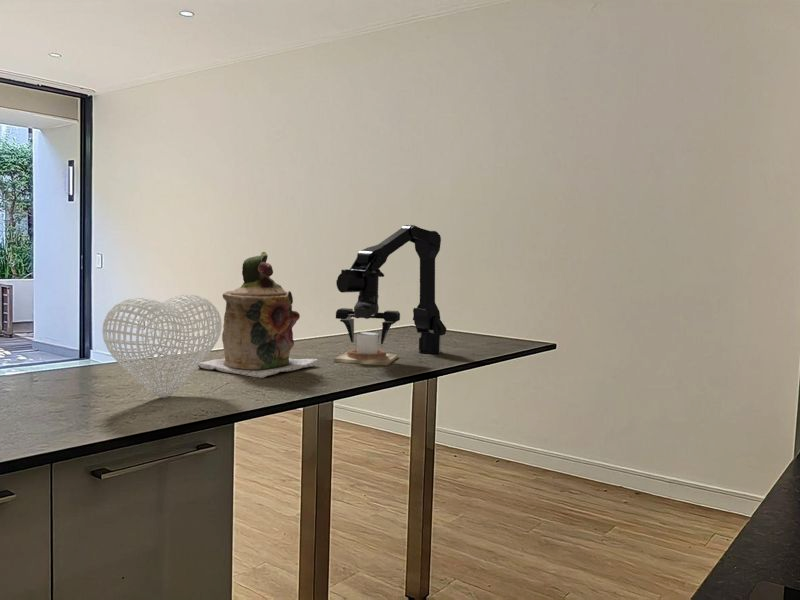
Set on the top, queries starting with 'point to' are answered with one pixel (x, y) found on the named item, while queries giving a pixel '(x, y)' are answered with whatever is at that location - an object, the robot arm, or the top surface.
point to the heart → (162, 339)
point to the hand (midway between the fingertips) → (367, 343)
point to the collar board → (366, 358)
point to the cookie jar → (258, 325)
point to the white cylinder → (367, 342)
